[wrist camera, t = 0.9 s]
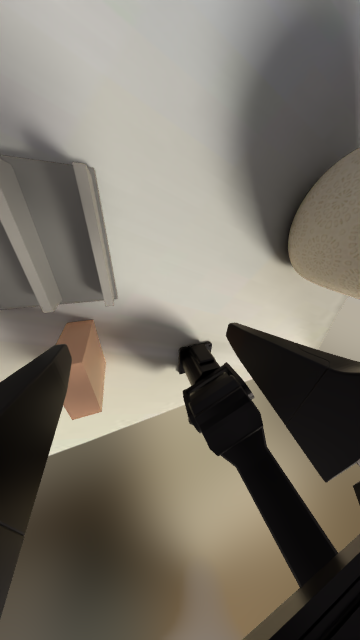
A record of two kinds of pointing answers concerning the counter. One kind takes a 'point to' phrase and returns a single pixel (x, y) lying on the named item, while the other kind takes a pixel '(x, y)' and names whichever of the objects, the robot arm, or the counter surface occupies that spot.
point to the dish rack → (52, 236)
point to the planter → (330, 230)
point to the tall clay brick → (84, 369)
